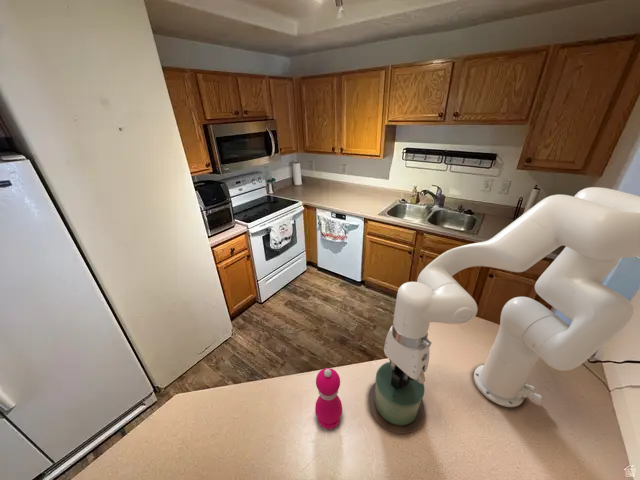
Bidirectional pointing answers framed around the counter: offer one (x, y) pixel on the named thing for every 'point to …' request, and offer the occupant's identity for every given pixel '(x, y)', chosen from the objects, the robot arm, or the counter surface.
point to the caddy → (397, 396)
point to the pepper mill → (328, 398)
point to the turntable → (390, 426)
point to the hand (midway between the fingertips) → (399, 380)
